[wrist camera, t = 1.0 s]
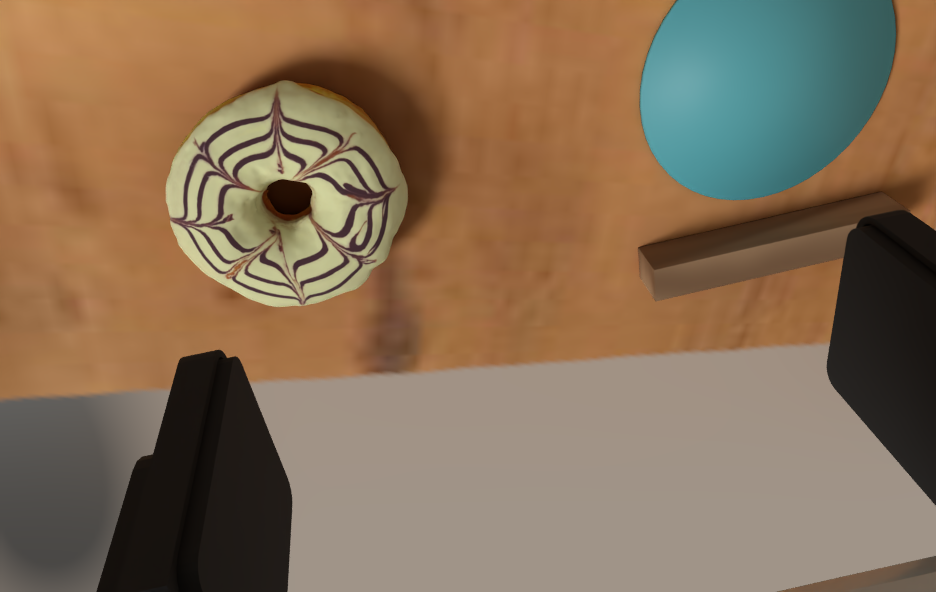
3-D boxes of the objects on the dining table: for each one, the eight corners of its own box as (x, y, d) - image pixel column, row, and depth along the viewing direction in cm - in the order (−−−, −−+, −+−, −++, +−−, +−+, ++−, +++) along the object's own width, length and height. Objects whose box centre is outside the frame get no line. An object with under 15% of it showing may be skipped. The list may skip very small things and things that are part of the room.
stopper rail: (638, 247, 42) (654, 270, 40) (882, 191, 42) (910, 211, 40) (639, 277, 43) (655, 301, 41) (877, 222, 43) (905, 243, 41)
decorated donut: (443, 167, 38) (454, 199, 35) (312, 310, 41) (310, 350, 38) (268, 25, 33) (261, 46, 30) (135, 199, 36) (116, 235, 33)
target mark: (632, -33, 34) (634, -32, 34) (911, -94, 34) (914, -94, 34) (645, 222, 41) (647, 223, 41) (876, 168, 41) (878, 170, 41)
